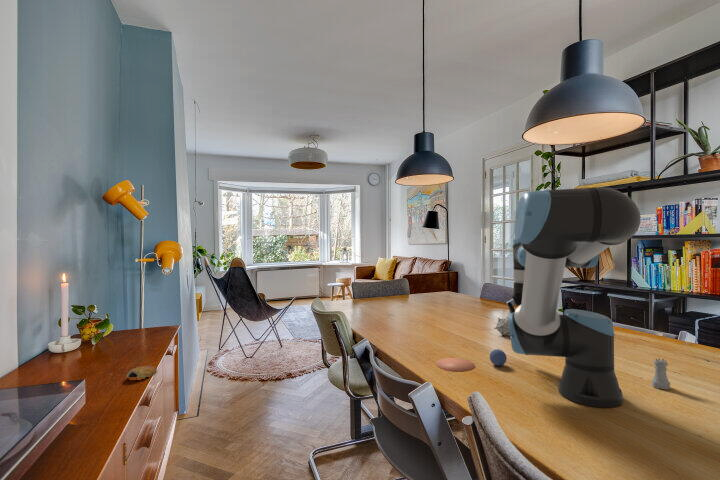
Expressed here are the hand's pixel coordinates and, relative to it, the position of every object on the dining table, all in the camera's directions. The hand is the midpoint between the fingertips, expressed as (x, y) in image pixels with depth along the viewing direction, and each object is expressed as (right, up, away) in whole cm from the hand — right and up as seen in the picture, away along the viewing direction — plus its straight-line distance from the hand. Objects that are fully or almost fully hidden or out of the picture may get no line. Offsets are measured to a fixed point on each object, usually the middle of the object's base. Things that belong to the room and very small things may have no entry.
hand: (526, 349), depth 127 cm
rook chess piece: (+30, -5, -20) cm, 37 cm away
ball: (-9, -3, +1) cm, 10 cm away
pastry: (-131, -9, -2) cm, 132 cm away
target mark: (-24, -6, +3) cm, 25 cm away
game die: (+8, -5, +38) cm, 39 cm away
